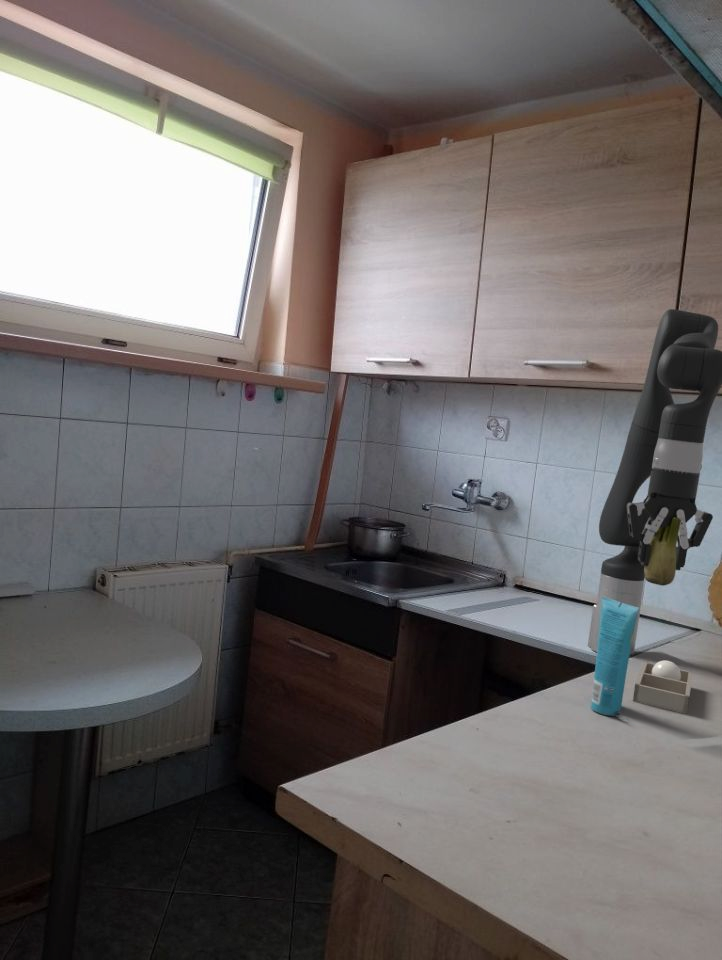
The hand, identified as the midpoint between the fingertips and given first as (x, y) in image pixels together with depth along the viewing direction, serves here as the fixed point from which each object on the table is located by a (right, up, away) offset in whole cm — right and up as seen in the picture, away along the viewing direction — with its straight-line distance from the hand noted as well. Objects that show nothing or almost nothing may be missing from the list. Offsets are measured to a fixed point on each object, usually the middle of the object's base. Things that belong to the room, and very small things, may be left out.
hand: (659, 566), depth 128 cm
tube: (-9, -25, +2) cm, 27 cm away
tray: (+5, -26, +12) cm, 29 cm away
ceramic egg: (+7, -25, +15) cm, 30 cm away
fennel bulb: (0, -3, 0) cm, 3 cm away
